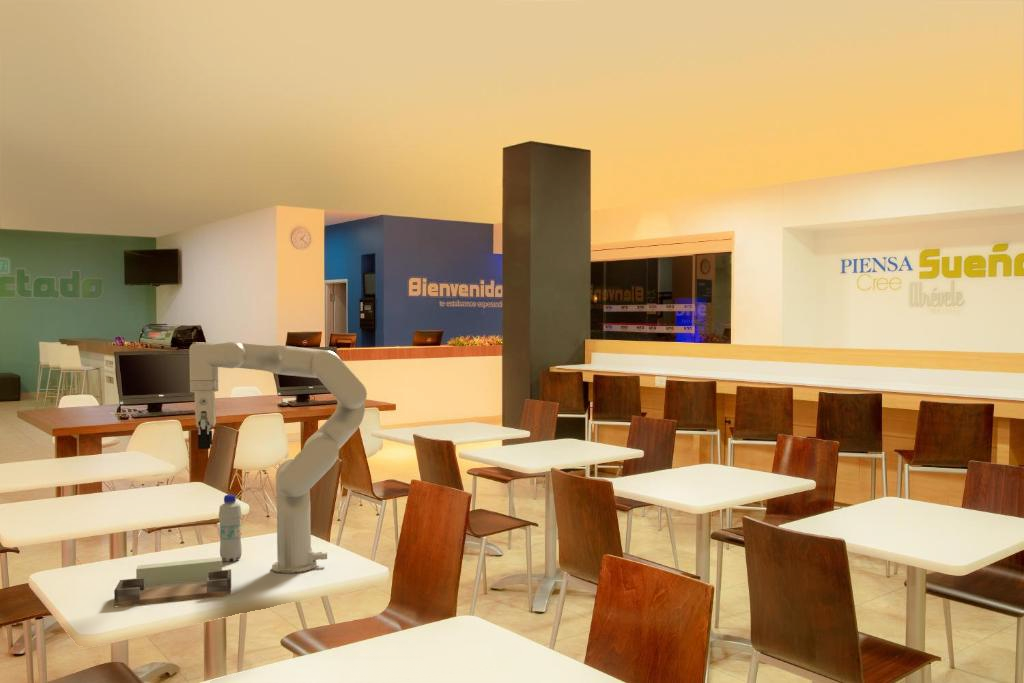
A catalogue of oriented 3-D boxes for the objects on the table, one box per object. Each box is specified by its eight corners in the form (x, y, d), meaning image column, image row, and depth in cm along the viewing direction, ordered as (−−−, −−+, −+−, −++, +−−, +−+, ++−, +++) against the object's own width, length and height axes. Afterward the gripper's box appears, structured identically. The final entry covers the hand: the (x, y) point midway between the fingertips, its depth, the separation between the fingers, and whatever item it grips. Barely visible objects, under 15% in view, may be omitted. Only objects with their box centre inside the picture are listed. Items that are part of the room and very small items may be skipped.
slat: (222, 574, 234) (221, 557, 234) (221, 578, 230) (221, 560, 230) (138, 583, 227) (137, 565, 227) (136, 587, 223) (136, 569, 223)
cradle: (231, 584, 223) (231, 569, 223) (230, 595, 214) (230, 579, 214) (120, 595, 214) (120, 579, 214) (114, 607, 205) (114, 590, 205)
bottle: (238, 562, 245) (236, 496, 245) (215, 563, 245) (214, 496, 245) (245, 556, 252) (244, 492, 252) (224, 557, 252) (222, 492, 252)
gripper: (216, 387, 224) (218, 449, 224) (219, 384, 241) (220, 442, 241) (187, 388, 222) (188, 451, 222) (192, 385, 238) (193, 444, 238)
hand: (205, 446), depth 231 cm, fingers open, 9 cm apart
